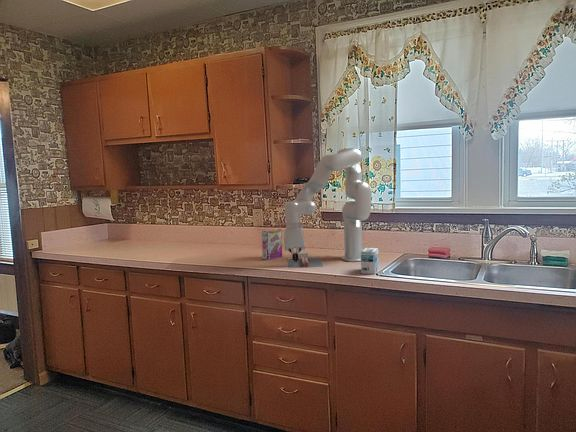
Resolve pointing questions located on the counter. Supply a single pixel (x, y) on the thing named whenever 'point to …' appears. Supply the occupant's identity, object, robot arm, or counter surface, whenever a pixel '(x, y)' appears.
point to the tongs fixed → (306, 262)
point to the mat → (312, 263)
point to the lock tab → (303, 254)
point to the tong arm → (303, 261)
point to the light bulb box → (369, 260)
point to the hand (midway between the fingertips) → (295, 261)
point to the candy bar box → (271, 244)
